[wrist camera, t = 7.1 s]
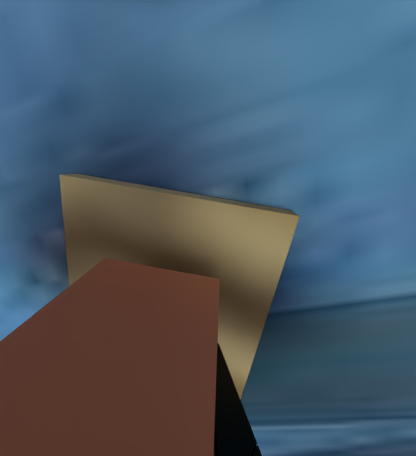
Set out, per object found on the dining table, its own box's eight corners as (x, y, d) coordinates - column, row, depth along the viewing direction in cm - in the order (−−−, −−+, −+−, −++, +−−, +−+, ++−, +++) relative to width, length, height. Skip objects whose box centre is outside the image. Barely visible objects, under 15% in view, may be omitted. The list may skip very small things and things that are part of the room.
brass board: (216, 456, 18) (215, 475, 17) (91, 431, 19) (83, 448, 18) (291, 210, 11) (299, 216, 9) (76, 173, 11) (59, 174, 10)
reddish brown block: (202, 362, 10) (168, 670, 4) (106, 344, 10) (-71, 615, 4) (219, 278, 9) (208, 583, 2) (104, 257, 9) (-193, 496, 2)
